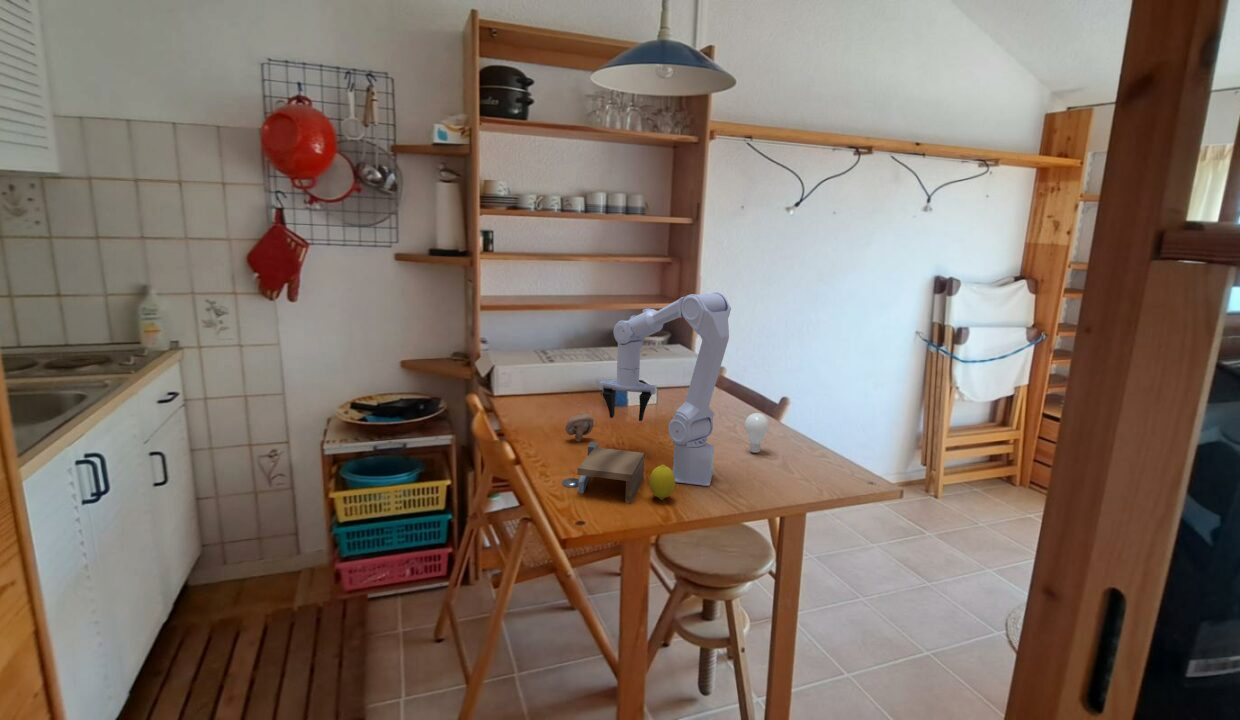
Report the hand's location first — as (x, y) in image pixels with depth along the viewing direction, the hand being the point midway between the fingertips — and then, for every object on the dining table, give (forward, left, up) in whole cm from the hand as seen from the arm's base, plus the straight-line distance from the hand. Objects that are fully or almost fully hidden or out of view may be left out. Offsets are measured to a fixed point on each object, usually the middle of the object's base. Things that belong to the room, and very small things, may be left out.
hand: (626, 418), depth 166 cm
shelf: (-2, +23, -9) cm, 25 cm away
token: (+7, +24, -10) cm, 27 cm away
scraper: (+5, +18, -9) cm, 21 cm away
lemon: (-14, +26, -10) cm, 31 cm away
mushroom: (+14, -5, -10) cm, 18 cm away
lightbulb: (-33, -11, -10) cm, 36 cm away
